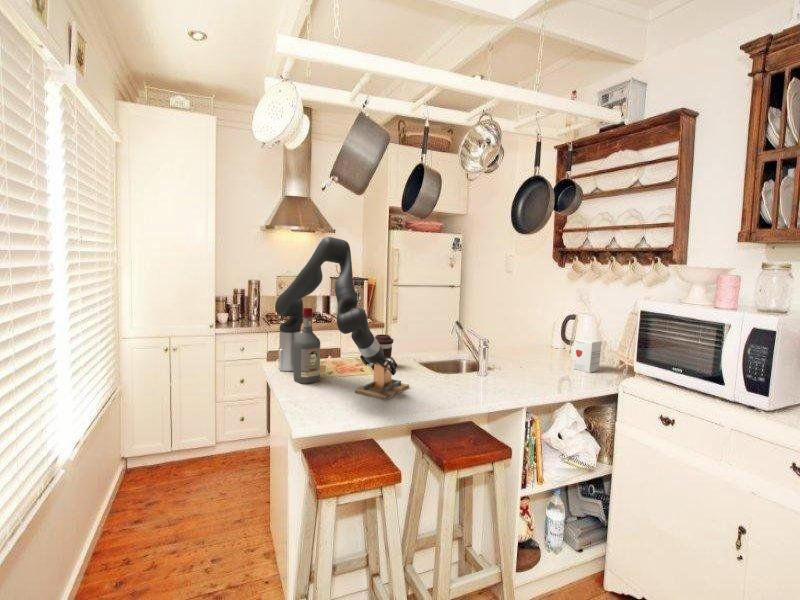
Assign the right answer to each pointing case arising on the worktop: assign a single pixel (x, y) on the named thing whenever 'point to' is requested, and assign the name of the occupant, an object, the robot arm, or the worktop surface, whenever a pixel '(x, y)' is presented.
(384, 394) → the board
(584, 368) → the supplement box
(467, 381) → the worktop surface
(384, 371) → the block
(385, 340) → the coffee cup
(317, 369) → the liquor
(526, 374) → the worktop surface
